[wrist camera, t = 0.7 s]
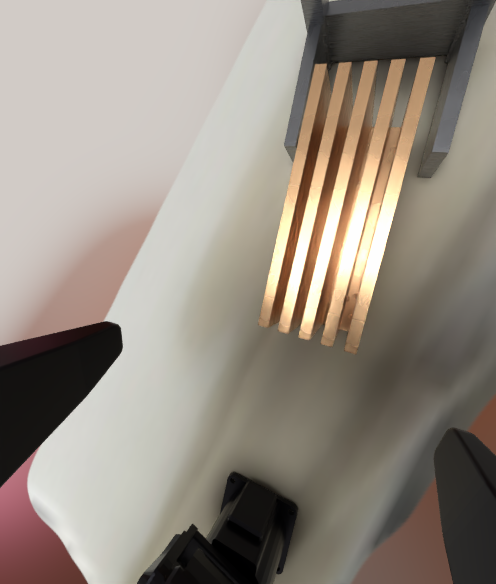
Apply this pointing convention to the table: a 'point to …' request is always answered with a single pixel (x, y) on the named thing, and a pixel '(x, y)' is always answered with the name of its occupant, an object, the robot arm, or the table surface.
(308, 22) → the grey open frame
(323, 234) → the heat-sink block
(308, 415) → the table surface
